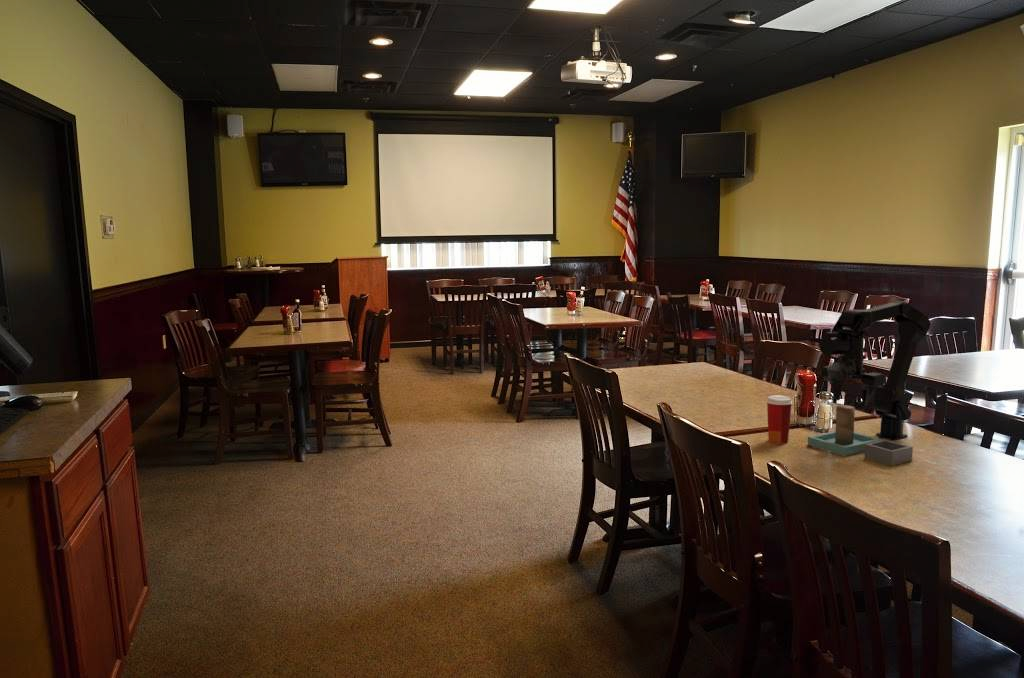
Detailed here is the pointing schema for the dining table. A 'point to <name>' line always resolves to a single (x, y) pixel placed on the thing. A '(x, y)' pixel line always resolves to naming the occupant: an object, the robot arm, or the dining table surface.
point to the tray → (828, 444)
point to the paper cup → (778, 418)
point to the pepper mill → (844, 425)
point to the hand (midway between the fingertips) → (851, 402)
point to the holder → (888, 452)
